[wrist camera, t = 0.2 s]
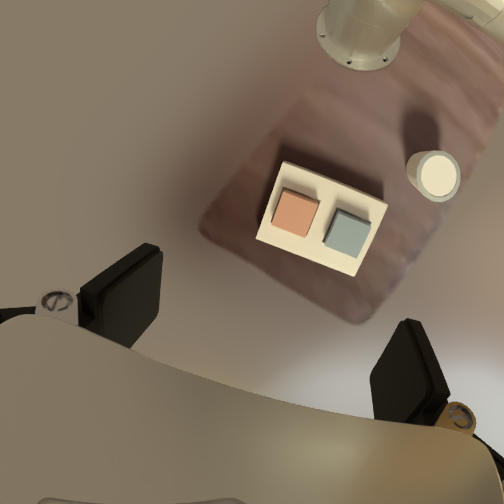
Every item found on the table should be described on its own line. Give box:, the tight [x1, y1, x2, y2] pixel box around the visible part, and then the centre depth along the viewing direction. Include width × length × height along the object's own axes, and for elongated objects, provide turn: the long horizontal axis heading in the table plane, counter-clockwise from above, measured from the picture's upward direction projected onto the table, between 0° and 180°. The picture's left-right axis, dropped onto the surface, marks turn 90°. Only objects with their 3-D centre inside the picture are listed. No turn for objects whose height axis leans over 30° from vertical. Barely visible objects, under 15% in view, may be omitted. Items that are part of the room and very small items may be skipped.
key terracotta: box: [271, 189, 318, 238], centre depth 42 cm, size 5×5×2 cm
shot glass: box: [406, 150, 460, 202], centre depth 36 cm, size 7×7×7 cm
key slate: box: [324, 209, 371, 259], centre depth 41 cm, size 5×5×2 cm
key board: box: [256, 161, 388, 277], centre depth 44 cm, size 12×16×3 cm
